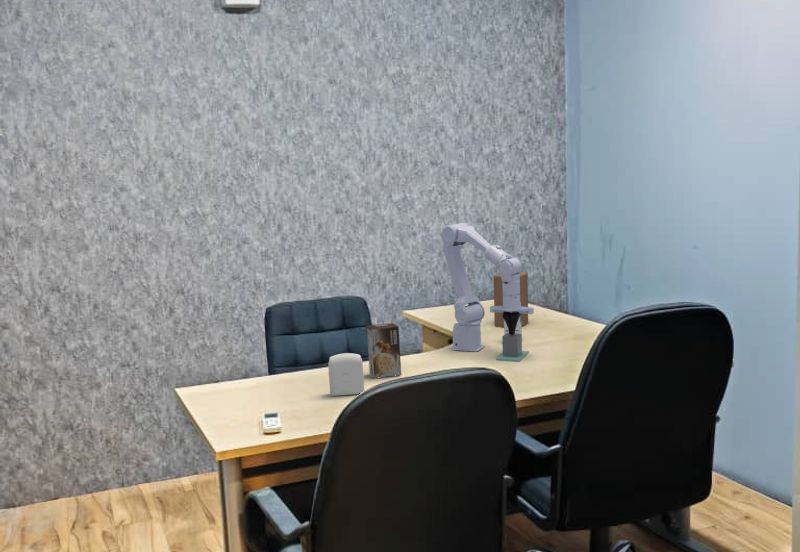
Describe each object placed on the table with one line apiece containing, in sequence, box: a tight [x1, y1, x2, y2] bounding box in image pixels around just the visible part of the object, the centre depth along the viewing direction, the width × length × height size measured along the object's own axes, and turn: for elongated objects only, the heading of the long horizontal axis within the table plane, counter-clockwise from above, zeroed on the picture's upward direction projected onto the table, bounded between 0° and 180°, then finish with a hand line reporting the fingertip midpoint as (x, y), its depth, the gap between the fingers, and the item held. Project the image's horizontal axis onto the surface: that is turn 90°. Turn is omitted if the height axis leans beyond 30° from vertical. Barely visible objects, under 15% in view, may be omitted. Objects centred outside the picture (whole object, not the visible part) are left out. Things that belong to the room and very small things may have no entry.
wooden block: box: [493, 272, 529, 328], centre depth 362 cm, size 10×10×20 cm
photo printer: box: [327, 352, 365, 397], centre depth 280 cm, size 10×4×12 cm, turn 96°
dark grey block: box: [501, 333, 523, 357], centre depth 316 cm, size 5×5×7 cm
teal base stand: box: [495, 350, 530, 363], centre depth 316 cm, size 8×12×6 cm, turn 158°
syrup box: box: [503, 302, 523, 336], centre depth 335 cm, size 6×6×14 cm
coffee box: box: [366, 322, 402, 379], centre depth 298 cm, size 9×6×16 cm
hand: (512, 334), depth 315 cm, fingers closed
